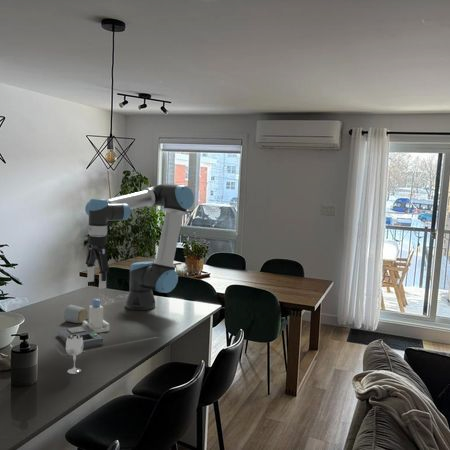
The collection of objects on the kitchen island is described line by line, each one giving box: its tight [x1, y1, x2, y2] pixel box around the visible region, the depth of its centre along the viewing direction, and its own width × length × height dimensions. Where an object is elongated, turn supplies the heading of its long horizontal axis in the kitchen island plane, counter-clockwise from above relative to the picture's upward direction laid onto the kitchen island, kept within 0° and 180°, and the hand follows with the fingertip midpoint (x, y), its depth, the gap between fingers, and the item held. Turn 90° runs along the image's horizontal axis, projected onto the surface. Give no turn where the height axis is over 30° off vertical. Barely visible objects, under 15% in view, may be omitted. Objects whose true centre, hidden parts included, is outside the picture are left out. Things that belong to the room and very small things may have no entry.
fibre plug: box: [88, 298, 104, 330], centre depth 193 cm, size 4×4×13 cm
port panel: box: [57, 325, 104, 349], centre depth 181 cm, size 12×18×3 cm, turn 37°
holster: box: [82, 319, 110, 334], centre depth 194 cm, size 8×9×4 cm
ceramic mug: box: [63, 304, 89, 324], centre depth 204 cm, size 11×8×8 cm
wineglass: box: [65, 335, 84, 375], centre depth 153 cm, size 6×6×12 cm
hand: (96, 284), depth 192 cm, fingers open, 13 cm apart
